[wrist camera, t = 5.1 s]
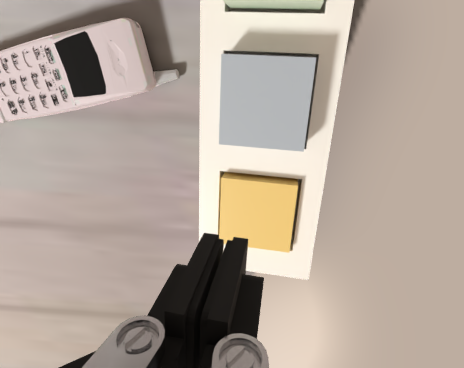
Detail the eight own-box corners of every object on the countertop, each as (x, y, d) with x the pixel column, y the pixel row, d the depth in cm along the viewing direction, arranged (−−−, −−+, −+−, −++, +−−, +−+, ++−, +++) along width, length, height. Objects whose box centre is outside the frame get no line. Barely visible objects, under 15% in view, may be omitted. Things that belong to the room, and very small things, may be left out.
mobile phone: (-143, 76, 25) (128, -7, 19) (-65, 73, 30) (165, 8, 24) (-102, 148, 27) (156, 93, 21) (-36, 133, 32) (184, 86, 26)
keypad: (213, -140, 20) (201, -173, 18) (371, -149, 19) (385, -187, 16) (207, 246, 31) (198, 263, 28) (306, 260, 30) (308, 279, 27)
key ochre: (227, 168, 26) (221, 177, 24) (297, 175, 25) (298, 185, 23) (224, 229, 29) (219, 243, 26) (289, 237, 28) (289, 252, 25)
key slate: (228, 55, 22) (221, 53, 20) (313, 58, 21) (316, 57, 19) (225, 137, 24) (218, 144, 22) (302, 143, 23) (303, 151, 21)
